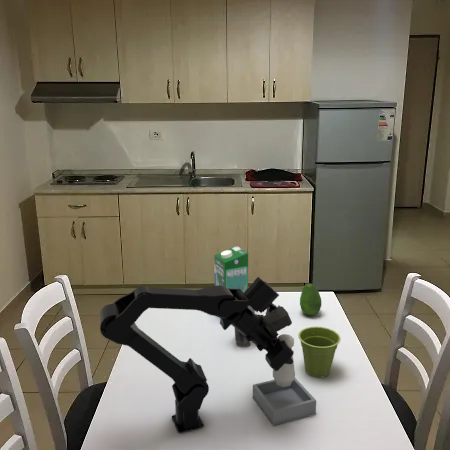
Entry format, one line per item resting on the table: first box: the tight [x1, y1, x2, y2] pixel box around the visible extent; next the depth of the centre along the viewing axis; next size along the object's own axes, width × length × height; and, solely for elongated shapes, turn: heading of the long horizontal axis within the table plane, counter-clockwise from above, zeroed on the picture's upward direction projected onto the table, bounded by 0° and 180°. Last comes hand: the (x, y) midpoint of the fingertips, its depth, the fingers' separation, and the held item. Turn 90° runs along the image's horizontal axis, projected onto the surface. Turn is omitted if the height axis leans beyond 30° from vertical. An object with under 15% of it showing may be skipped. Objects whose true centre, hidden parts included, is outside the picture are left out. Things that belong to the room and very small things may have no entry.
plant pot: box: [297, 326, 342, 378], centre depth 138 cm, size 12×12×11 cm
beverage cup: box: [233, 285, 256, 348], centre depth 153 cm, size 7×7×20 cm
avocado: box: [299, 283, 322, 316], centre depth 173 cm, size 8×8×12 cm
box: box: [252, 377, 317, 427], centre depth 124 cm, size 12×12×4 cm
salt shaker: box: [272, 333, 296, 387], centre depth 122 cm, size 6×6×13 cm
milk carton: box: [213, 245, 249, 299], centre depth 171 cm, size 9×9×25 cm
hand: (289, 358), depth 122 cm, fingers closed on salt shaker, 3 cm apart
